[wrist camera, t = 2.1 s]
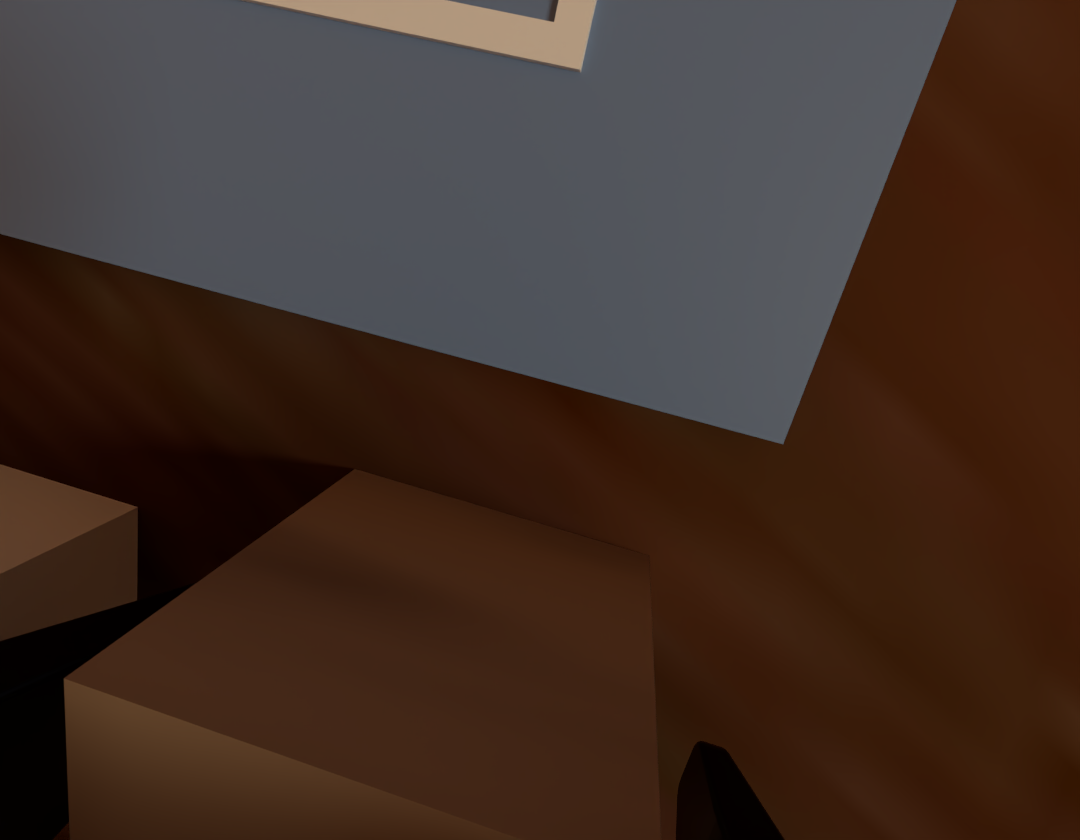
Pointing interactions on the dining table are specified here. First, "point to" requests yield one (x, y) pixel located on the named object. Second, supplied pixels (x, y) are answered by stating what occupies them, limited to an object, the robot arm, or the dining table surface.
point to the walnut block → (380, 686)
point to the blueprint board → (483, 171)
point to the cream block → (61, 553)
